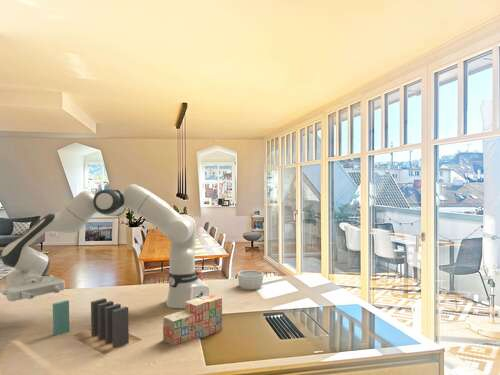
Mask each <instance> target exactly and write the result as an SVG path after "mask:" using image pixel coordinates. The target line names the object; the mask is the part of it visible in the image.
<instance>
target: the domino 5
mask: <svg viewBox="0 0 500 375" xmlns="http://www.w3.org/2000/svg"><path fill="white" fill-rule="evenodd" d="M129 328H130V327H129V307H128V306H123V307H121V308H119V309H115V310H112V344H113V347H114V348H117V347H119V346H122V345H125V344H127V343H129V334H130V332H129V331H130V330H129Z"/></svg>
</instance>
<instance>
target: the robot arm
mask: <svg viewBox="0 0 500 375" xmlns="http://www.w3.org/2000/svg"><path fill="white" fill-rule="evenodd" d="M126 209H130V210H131V211H133V212H134V213H135V214H137V215H139V216H140V217H141V218H143V219H144V220H146V221H147V222H149V223H150V224H152V225H153V226H154V227H155V228H157V230H158V231H159V232H161V233H162V234H163V235H164V236H165V237H166V238H167V239H168V240H169V241H170V242H171V243H170V248H169V249H170V250H169V255H168V256H169V272H168V285H169V286H168V291H167V292H168V293H167V299H166V303H165V305H166V306H167V307H168V308H173V309H185V302H186V301H190V300H193V299H196V298H199V297H203V296H208V295H213V294H211V293H210V287H209V286H208V285H209V284H207V283H206V282H204V281H203V280H202V279H200V278H199V276H202V275H203V272H202V270H196V269H195V268H196V265H195V262H196V242H197V222H196V220H195V219H194V217H192V216H191V215H189V214H185V213H183V214H180V213H179V212H178V211H176V210H175V209H174V208H172V206H171V205H170V204H169V203H168V202H166V201H165V200H163V199H162V198H161V197H159V196H157V195H156V194H154V193H153V192H151V190H148V189H146V188H145V187H143V186H140V185H138V184H136V183H131V184H128V185H127V186H125V187H124V189H123V190H122V191H121V190H119V189H107V188H106V189H102V190H99V191H98V192H96V194H94V193H93V192H92V191H89V190H88V191H87V190H83V191H81V192H79V193H78V194H76V196H74V198H72V199H71V200H70V201H69V202H68V203H66V205H65V207H63V208H62V209H61V210H59V211H57V212H55V213H49V214H47V215H45V216H44V217H42V218H41V219H39V220H38V221H37V222H36V223H34V224H33V225H32V226H30V228H29V229H27V230H26V231H25V232H23V234H21V235H20V236H19V237H18V238H16V239H14V240H13V241H12V242H10V243H8V244H7V245H6V246H5V247H4V248H3V250H2V251H1V253H0V258H1V262H2V264H3V265H4V266H7V267H9V268H14V269H15V270H12V271H10V272H9V273H8V274H7V275H6V277H5V285H6V287H7V288H6V289H5V290H4V291H2V292H1V294H2V295H3V296H5V297H6V299H7V300H8V301H9V302H15V301H20V300H24V299H25V300H26V299H27V300H31V299H34V298H36V297H39V296H43V295H48V294H53V293H54V294H58V293H60V292H62V291H64V290H65V289H66V281H65V280H64V279H61V278H59V277H55V276H54V275H52V274H47V273H48V271H49V270H50V264H51V263H50V257H49V256H48V255H46V254H45V253H43V252H41V251H38V250H36V249H34V248H32V247H30V245H31V244H33V243H34V242H35V241H36V240H38V238H40V237H41V236H43V234H45V233H49V232H50V233H51V232H54V233H55V232H58V233H64V234H73V233H77V232H79V231H81V230H82V228H84V226H86V224H87V223H88V222H89V221H90V219H91V218H92V217H93V216H94V215H95V214H97V213H98V214H100V215H104V216H106V217H119V216H120V215H123V214H124V212H126Z"/></svg>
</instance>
